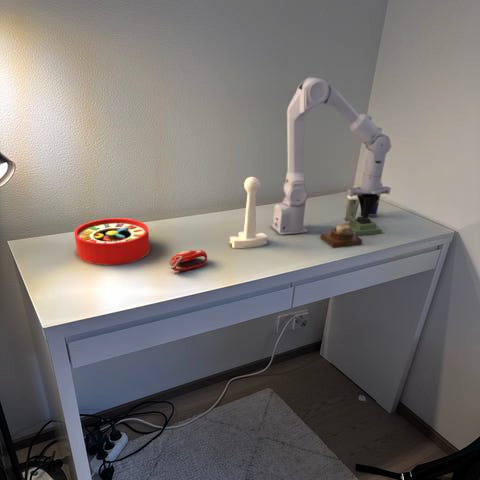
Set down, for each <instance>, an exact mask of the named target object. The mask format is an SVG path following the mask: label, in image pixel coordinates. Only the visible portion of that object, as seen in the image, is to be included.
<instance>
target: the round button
mask: <svg viewBox="0 0 480 480" xmlns="http://www.w3.org/2000/svg"><path fill="white" fill-rule="evenodd" d="M336 227H337V228H336V232H338V233H344V234H345V233H348V232H349V226H348V225H344V224H343V223H339V224H337V225H336Z"/></svg>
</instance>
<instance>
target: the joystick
mask: <svg viewBox="0 0 480 480" xmlns="http://www.w3.org/2000/svg"><path fill="white" fill-rule="evenodd" d="M243 187H244V190H245V192H246V193H247V196H246V206H245V216H244V226H243V230H242V231H239V232H238V236H233V235H231V236H229V244H231V247H232V248H233V249H249V248H255V247H261V246H265V245H267V244H268V236H267V235H266V233H264V232H259V233H257V222H256V221H257V219H256V218H257V214H256V212H257V201H256V200H257V199H256V198H257V193H258V191H259V190H260V187H261V183H260V180H259V178H257V177H255V176H248V177H247V178H246V179H245V181H244V183H243Z"/></svg>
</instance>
